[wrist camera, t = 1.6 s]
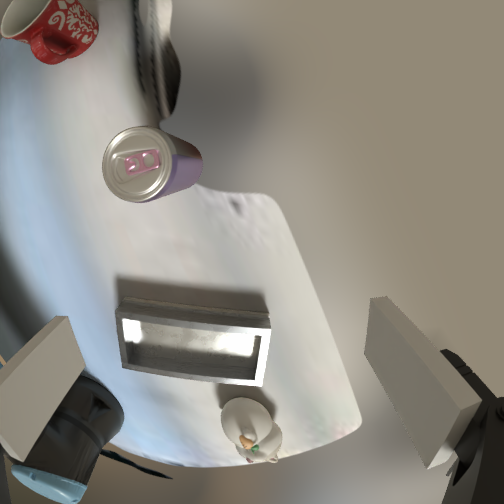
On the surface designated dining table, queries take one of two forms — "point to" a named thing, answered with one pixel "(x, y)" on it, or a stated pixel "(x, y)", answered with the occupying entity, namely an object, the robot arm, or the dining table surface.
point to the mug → (50, 28)
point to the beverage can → (149, 164)
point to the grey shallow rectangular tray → (193, 341)
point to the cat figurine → (251, 430)
